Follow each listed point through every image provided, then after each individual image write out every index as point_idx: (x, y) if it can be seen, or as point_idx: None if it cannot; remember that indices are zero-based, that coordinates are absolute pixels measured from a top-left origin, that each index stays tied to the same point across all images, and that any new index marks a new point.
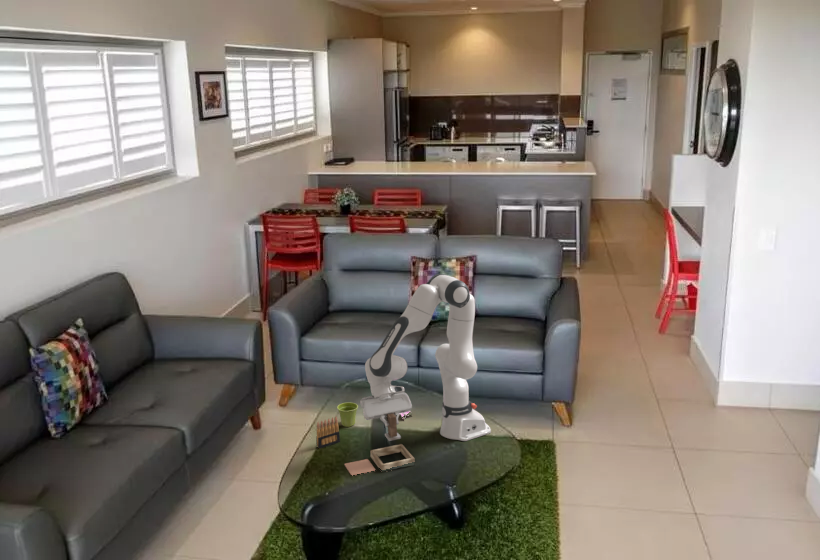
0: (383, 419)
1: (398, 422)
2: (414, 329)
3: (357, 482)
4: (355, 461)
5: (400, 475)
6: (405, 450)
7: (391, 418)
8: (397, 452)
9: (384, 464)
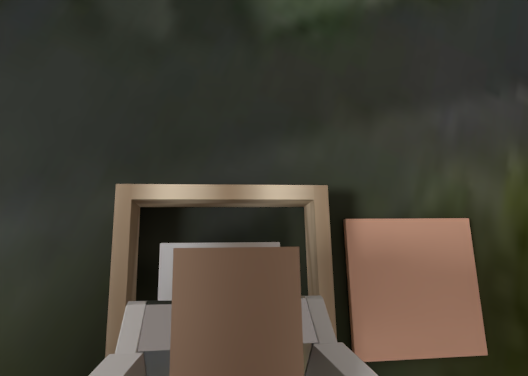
0: (372, 373)
1: (133, 301)
2: None
3: (449, 152)
4: (426, 358)
5: (240, 127)
6: (121, 313)
7: (274, 247)
8: None
9: (311, 189)
